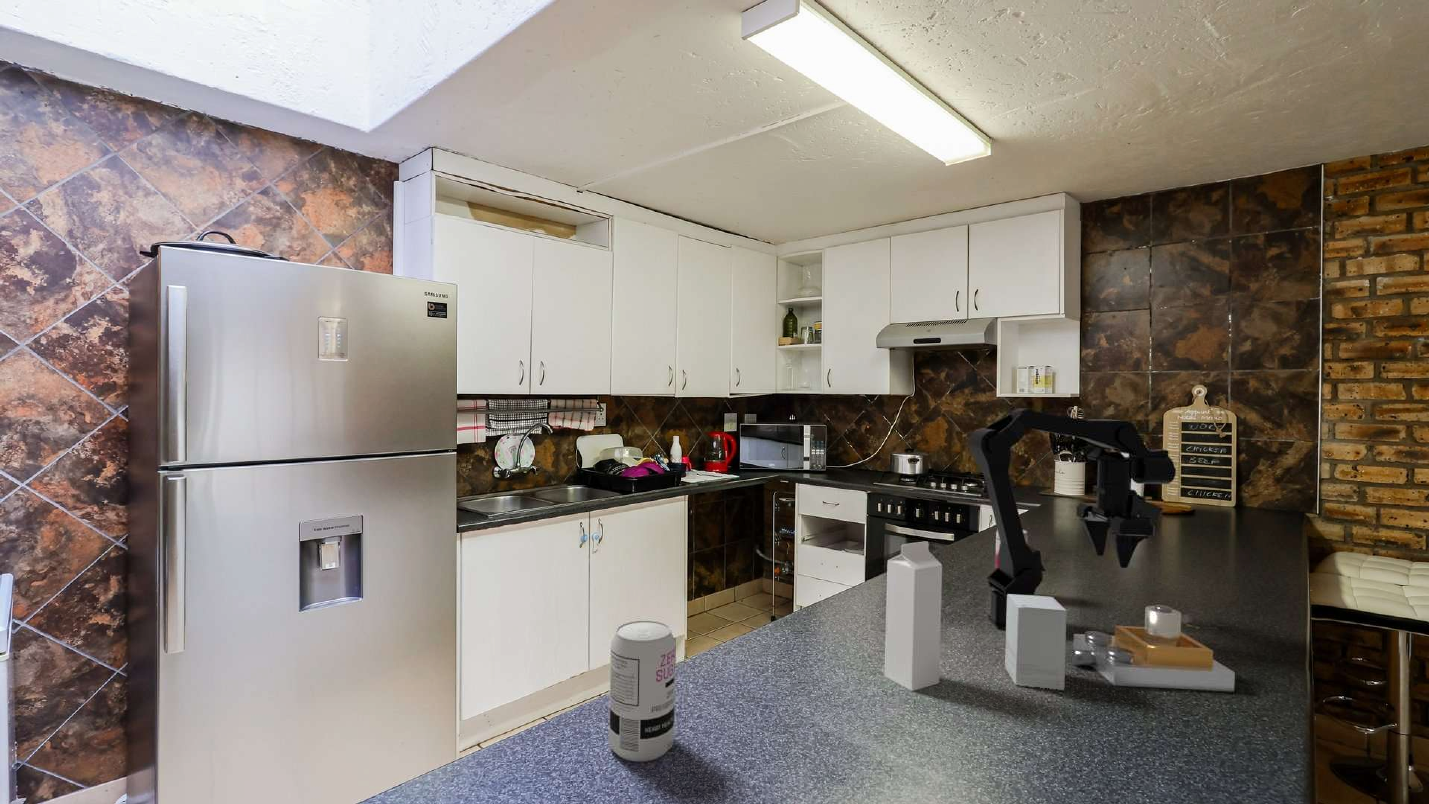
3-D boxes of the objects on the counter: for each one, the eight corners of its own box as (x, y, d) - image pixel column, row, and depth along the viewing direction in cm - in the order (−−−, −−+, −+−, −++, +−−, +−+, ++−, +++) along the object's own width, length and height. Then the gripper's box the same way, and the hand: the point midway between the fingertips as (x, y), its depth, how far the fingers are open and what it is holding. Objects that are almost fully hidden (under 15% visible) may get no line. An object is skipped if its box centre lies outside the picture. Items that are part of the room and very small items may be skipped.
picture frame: (1094, 684, 105) (1095, 650, 105) (1056, 649, 119) (1057, 619, 119) (1234, 691, 104) (1235, 656, 104) (1178, 655, 118) (1179, 624, 118)
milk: (939, 684, 105) (944, 545, 104) (911, 692, 102) (916, 549, 101) (910, 669, 110) (915, 537, 109) (883, 676, 107) (887, 540, 106)
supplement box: (1065, 691, 103) (1068, 610, 102) (1014, 686, 104) (1016, 606, 104) (1051, 671, 110) (1053, 596, 110) (1003, 667, 111) (1006, 592, 111)
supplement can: (611, 730, 88) (613, 619, 88) (673, 729, 89) (675, 618, 89) (606, 765, 80) (608, 642, 80) (674, 763, 81) (676, 641, 81)
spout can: (1155, 657, 109) (1157, 611, 109) (1137, 645, 114) (1139, 601, 114) (1200, 659, 109) (1202, 613, 109) (1179, 647, 114) (1181, 603, 114)
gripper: (1186, 491, 121) (1183, 576, 121) (1131, 478, 140) (1129, 551, 140) (1122, 489, 122) (1119, 574, 122) (1076, 476, 141) (1074, 549, 141)
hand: (1111, 561), depth 131 cm, fingers open, 9 cm apart
